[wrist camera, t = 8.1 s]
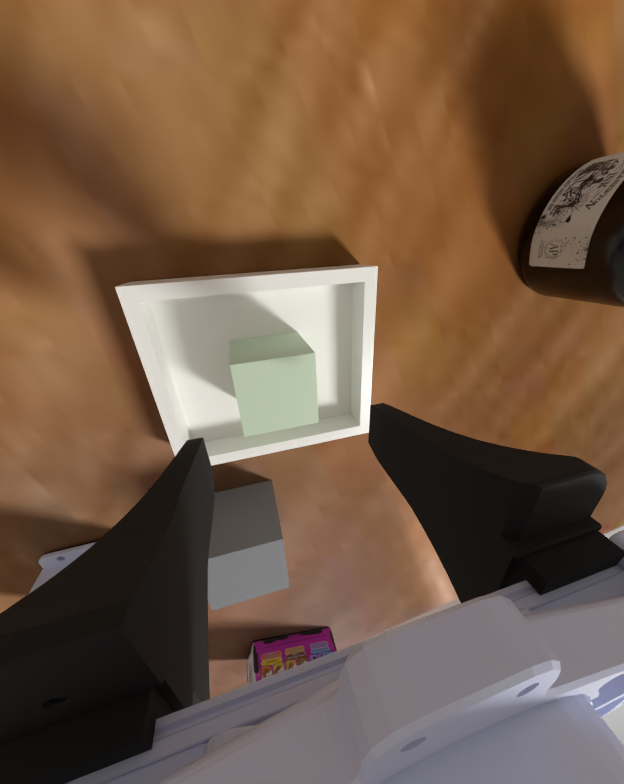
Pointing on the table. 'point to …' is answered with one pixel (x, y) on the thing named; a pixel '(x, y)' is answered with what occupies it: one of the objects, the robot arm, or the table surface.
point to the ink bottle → (579, 235)
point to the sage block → (274, 382)
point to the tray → (246, 320)
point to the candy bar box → (287, 652)
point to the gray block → (245, 546)
